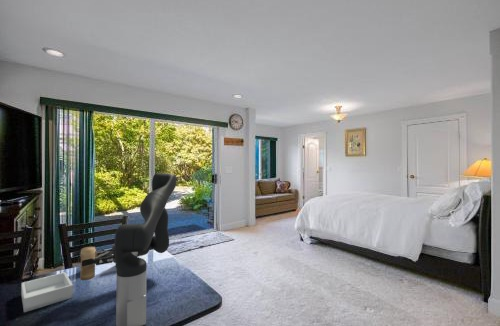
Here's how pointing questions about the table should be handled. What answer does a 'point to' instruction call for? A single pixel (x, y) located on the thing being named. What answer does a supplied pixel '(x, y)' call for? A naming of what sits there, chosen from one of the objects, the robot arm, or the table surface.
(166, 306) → the table surface
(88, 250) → the wooden cylinder
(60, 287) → the tote
